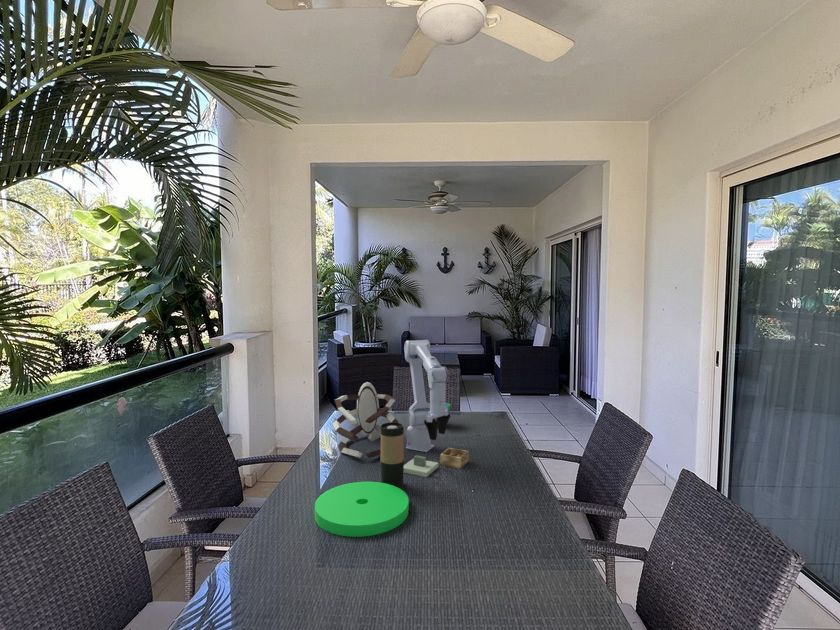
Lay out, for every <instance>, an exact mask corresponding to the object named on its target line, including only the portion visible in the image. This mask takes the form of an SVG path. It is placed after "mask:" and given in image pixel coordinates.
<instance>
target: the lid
mask: <svg viewBox="0 0 840 630" xmlns="http://www.w3.org/2000/svg"><path fill="white" fill-rule="evenodd" d="M438 468H439V462H436V461H431V460H427V457H426V456H422V455H417V454H416V455H414V456H413V458H412V459H410V460H409V461H408V462H407V463H405V464H404V472H403V474H404V473H405V474H409V475H413V476H419V477H423V478H428V476H430V475H431V474H432V473H434V471H436V470H437V469H438Z"/></svg>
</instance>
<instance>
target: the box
mask: <svg viewBox="0 0 840 630" xmlns="http://www.w3.org/2000/svg"><path fill="white" fill-rule="evenodd" d="M439 456H440V457H439V465H440V466H443V467H447V468H448V467H449V468H454V469H457V470H459V469H460V470H461V469H462V468H464V467H465V465H467V463H469V450H464V449H459V448H454V447H447V448H446V449H445V450H443V452H441V453H440V455H439Z"/></svg>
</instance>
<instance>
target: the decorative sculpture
mask: <svg viewBox="0 0 840 630" xmlns="http://www.w3.org/2000/svg"><path fill="white" fill-rule="evenodd" d="M358 391H359V392H358V394H345V395H341V396H339V397H338V398H336V399H334V403H335V405H336V408H337V410H338V411H339V413H340V414H341V415H340V416H339V417H338V418H337V419H335V421H333V423H332V426H333V429H334V431H336V433H338V435H340V436H342V437H343V438H342V439H341V440H340V442H339V443H338V444H337V447H338V449H339V451H340V453H342V454H345V455H348V456H350V457H351V456H353V457H356V458H358V459H361V457H362V456H363V453H362V452H361V451H358V450H355V449H351V448H348V446H347V443H348V441H352V442H356V441H357V440H358V439H359V437H358V436H357V434H359V433H361V432H362V433H363V434H364V435H366V436H367V439H368V440H369V441H371V442H373V441H376V440H377V439H379V438H380V439H381V425H379V423H378V422H379V418H380V417H383V418H386V419H388V420H389V422H390V423H392V422H394V423H399V421H398V420H397V418H396V417H395V416H394V415H393V414H392V413H391V412H390V411H389V410H390V408H391V407H392V406H393V404H394V403H395V402H396V399H395V398H394V397H393V396H391V395H389V394H383V393H382V394H381V393H380V394H379V393H377V390H376V388H375V387H374V385H373V384H372V382H368V381H366V382H364V383H363V384H362V385H361V386H360V388H359V390H358ZM379 399H380V400H386V402H387V403H386V404H385V406H383V407H382V408H380V405H379ZM351 400H352V401H354V400H356V408H355V409H352V410H349V411H347V410H346V409H345V407H344V406H343V404H342V402H343V401H351ZM355 417H357V419H356V418H355ZM346 420H348V421H349V422H351V424H353V426H354V425H356V424H358V425H357V426H356V427H355V428H353V429H352V430H350V431H349V430H347V429H346V428H343V427H342V425H341V424H342V423H343V422H344V421H346ZM365 455H366V457H368V459H369V458H373V457H377V456H381V448H380V449H377V450H373V451H369V452H366V453H365Z"/></svg>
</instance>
